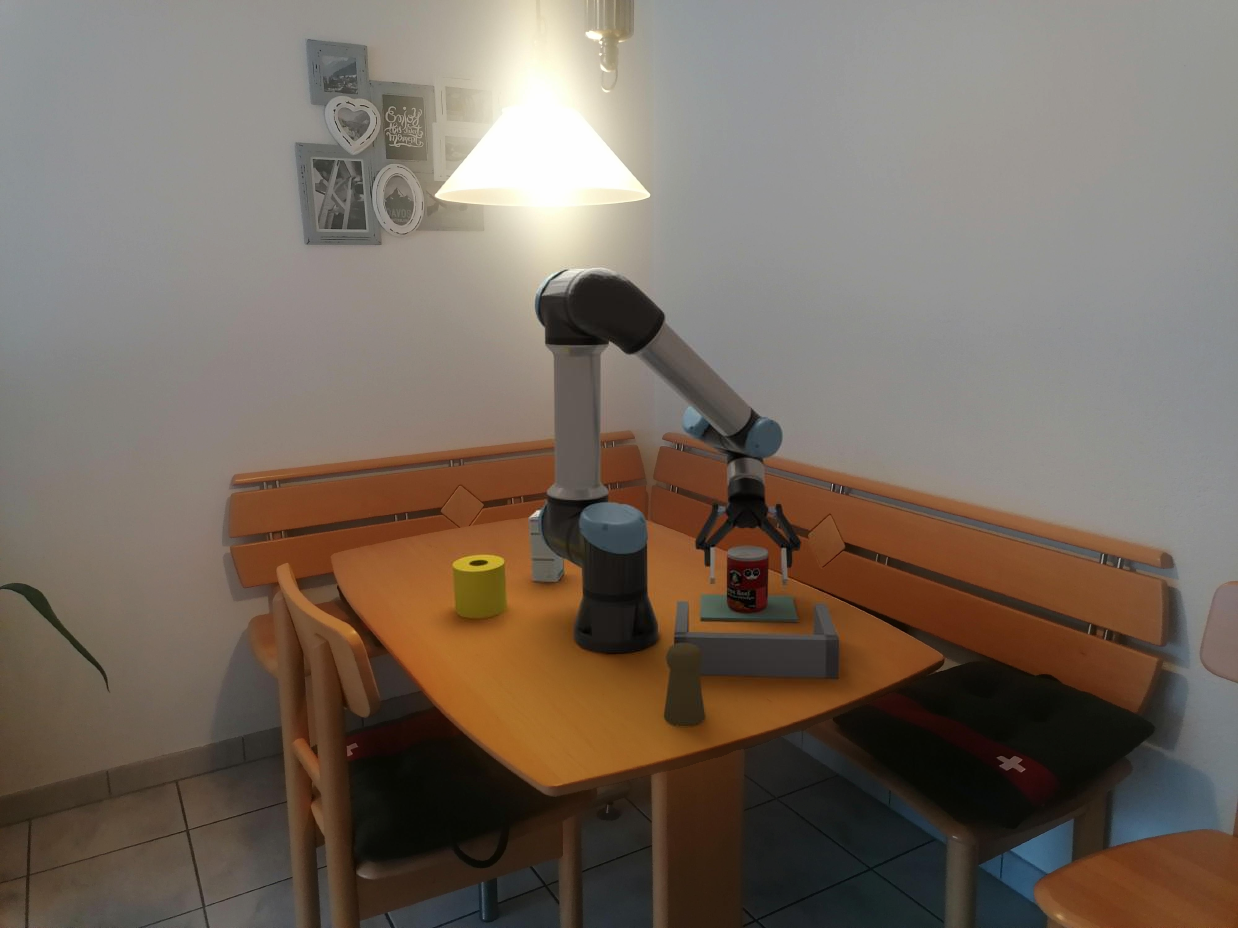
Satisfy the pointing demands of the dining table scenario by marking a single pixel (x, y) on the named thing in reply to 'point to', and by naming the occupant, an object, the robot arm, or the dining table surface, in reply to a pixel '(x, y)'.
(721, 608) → the green mat
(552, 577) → the syrup box
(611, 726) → the dining table surface
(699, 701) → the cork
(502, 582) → the tape roll
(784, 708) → the dining table surface
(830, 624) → the open box
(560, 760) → the dining table surface
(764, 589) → the canned food
